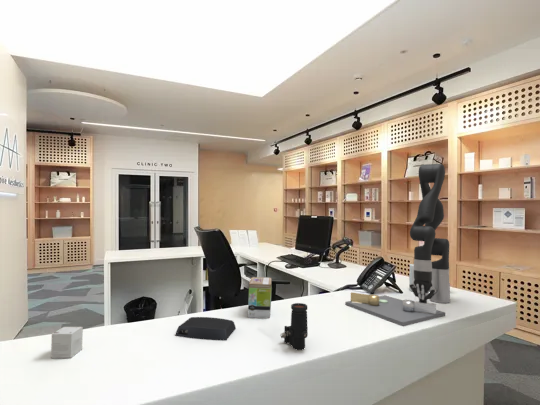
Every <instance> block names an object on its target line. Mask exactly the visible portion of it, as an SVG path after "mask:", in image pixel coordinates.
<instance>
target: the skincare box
mask: <svg viewBox="0 0 540 405" xmlns="http://www.w3.org/2000/svg"><path fill="white" fill-rule="evenodd" d="M83 329H84V328H83V326H62V327H61V328H60V329H58V330H56V331H54V332H52V333H51V346H50V348H51V349H50V351H51V352H50V359H72V358H73V357H74V356H75V355H77V354H78V353H79V352H81V351H82V350H83V331H84V330H83Z"/></svg>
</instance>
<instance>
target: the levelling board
mask: <svg viewBox="0 0 540 405" xmlns="http://www.w3.org/2000/svg"><path fill="white" fill-rule="evenodd" d="M378 296H379V305H378V306H374V305H369V304H367V303H360V302H353V301H351V300H348V301H345V303H344V304H345V306H347V307H351V308H353V309H355V310H358V311H361V312H364V313H365V314H366V313H367V314H369V315H371V316H375V317H378V318H380V319H383V320H385V321H388V322H391V323H393V324H396V325H398V326H401V327H406V326H410V325H414V324H417V323H421V322H425V321H430V320H434V319H438V318H441V317H445V316H446V312H445V311H441V310H438V309H436V314H433V313H424V312H416V311H414V312H408V311H404V310H403V300H404V299H399V298H396V297H391V296H389V295H385V294H384V295H378Z"/></svg>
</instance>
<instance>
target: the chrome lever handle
mask: <svg viewBox="0 0 540 405" xmlns="http://www.w3.org/2000/svg"><path fill="white" fill-rule="evenodd" d="M402 300H403V310H404V311H408V312H414V311H416V312H424V313H433V314H436V310H437V304H436V303H434V302H433V303H431V302H427V303H424V302H419V301H416V300H410V299H402Z"/></svg>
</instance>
